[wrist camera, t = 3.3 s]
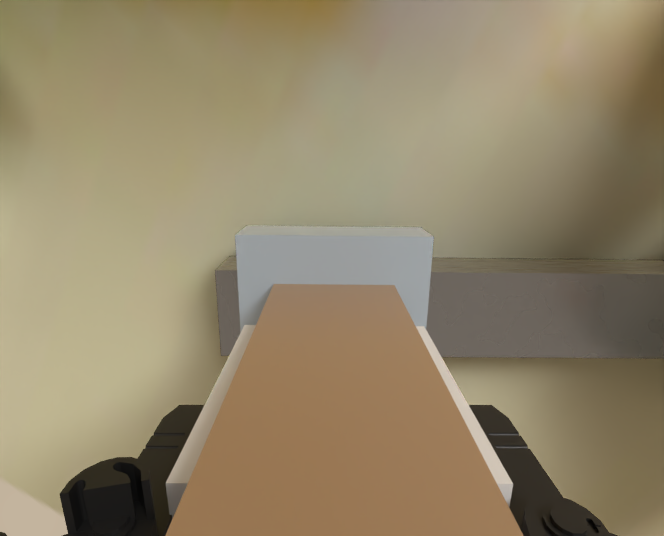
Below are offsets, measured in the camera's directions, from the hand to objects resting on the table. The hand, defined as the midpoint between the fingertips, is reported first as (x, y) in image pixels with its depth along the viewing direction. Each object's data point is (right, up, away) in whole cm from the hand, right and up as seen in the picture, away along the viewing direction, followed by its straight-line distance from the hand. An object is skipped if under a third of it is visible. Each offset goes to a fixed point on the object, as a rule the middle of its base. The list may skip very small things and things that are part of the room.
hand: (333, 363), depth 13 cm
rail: (+7, +2, +6) cm, 10 cm away
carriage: (0, +2, +5) cm, 6 cm away
